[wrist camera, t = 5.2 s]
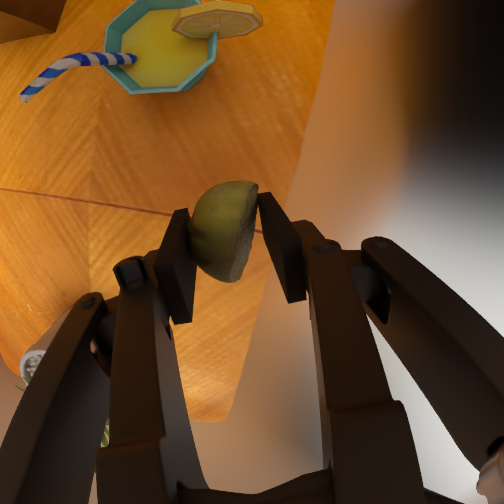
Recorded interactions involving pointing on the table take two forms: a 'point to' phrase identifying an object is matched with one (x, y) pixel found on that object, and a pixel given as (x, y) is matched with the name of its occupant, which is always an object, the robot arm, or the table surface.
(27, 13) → the dark brown box
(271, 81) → the table surface
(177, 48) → the cup
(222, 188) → the lime
